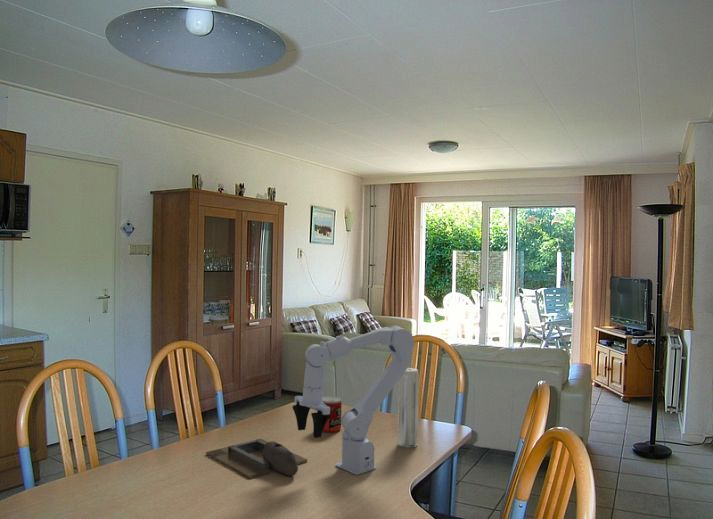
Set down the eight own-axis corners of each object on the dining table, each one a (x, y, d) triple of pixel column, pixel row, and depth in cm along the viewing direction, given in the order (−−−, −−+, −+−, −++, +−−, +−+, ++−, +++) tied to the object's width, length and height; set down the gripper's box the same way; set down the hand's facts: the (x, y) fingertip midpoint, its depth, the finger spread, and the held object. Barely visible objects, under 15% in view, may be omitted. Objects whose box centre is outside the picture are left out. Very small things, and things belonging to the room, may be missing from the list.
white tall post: (417, 441, 188) (418, 367, 188) (417, 448, 182) (418, 371, 182) (398, 441, 189) (399, 366, 189) (397, 447, 182) (398, 370, 182)
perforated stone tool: (303, 477, 156) (304, 452, 156) (287, 482, 153) (288, 456, 153) (276, 461, 168) (276, 438, 168) (260, 465, 165) (261, 442, 165)
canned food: (332, 434, 195) (332, 402, 195) (314, 429, 200) (315, 399, 200) (345, 429, 201) (346, 398, 201) (328, 425, 206) (329, 395, 206)
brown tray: (307, 461, 168) (307, 451, 168) (249, 478, 154) (250, 468, 154) (260, 441, 186) (261, 432, 186) (205, 454, 173) (206, 445, 173)
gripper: (287, 382, 165) (283, 428, 165) (317, 393, 154) (313, 442, 154) (307, 380, 170) (303, 425, 169) (337, 391, 159) (333, 439, 158)
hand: (309, 433), depth 162 cm, fingers open, 7 cm apart
